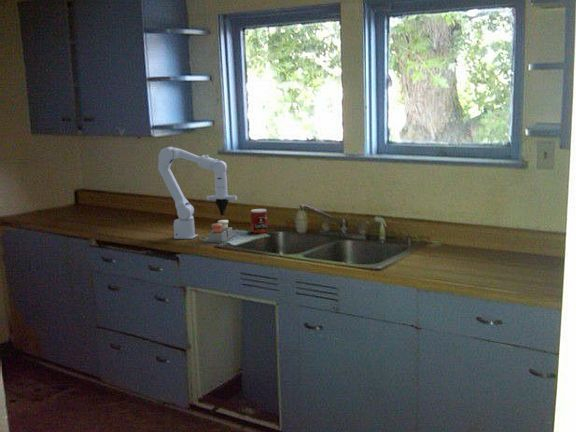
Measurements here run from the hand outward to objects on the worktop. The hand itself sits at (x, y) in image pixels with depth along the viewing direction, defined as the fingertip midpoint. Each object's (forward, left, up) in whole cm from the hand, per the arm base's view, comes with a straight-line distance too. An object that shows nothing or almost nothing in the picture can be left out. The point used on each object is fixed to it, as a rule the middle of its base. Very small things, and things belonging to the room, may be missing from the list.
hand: (222, 215), depth 319 cm
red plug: (0, -9, -7) cm, 11 cm away
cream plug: (0, 0, -7) cm, 7 cm away
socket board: (0, -5, -10) cm, 11 cm away
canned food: (+14, +11, -11) cm, 21 cm away
